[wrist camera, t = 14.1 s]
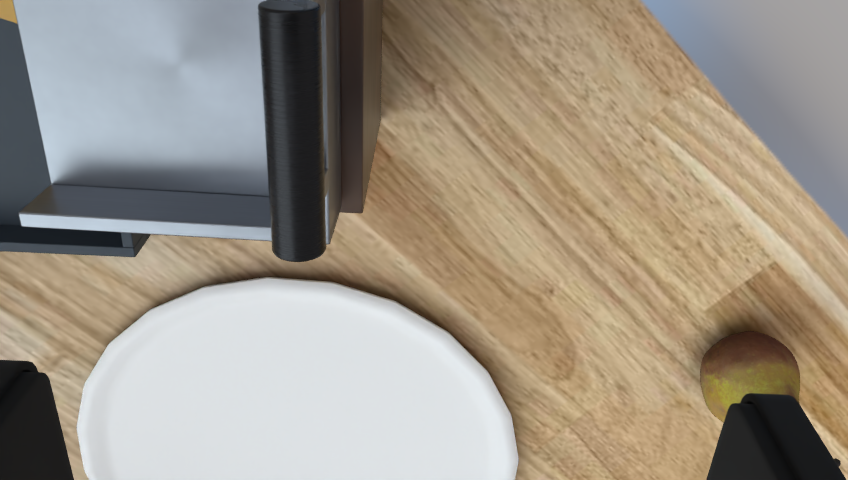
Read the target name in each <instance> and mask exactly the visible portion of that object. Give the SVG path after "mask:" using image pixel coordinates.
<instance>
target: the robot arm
mask: <svg viewBox="0 0 848 480" xmlns="http://www.w3.org/2000/svg"><path fill="white" fill-rule="evenodd" d="M0 480H74V478H73V474H72V470H71V466H70V462H69V458H68V454H67V450H66V445H65V441H64V437H63V433H62V429H61V425H60V421H59V417H58V413H57V409H56V405H55V400H54V396H53V392H52V388H51V384H50V380H49V378H48V376H47V375H46V374H45V373H40V372H38V371H37V368H36V366H35V365H34V364H33V363H32V362H29V361H11V360H0ZM707 480H846V478H845V477H844V475H843V474H842V472H841V470H840V469H839V467H838V466H837V464H836V462H835V461H834V459H833V458H832V456H831V454H830V453H829V451H828V450H827V448H826V446H825V445H824V443H823V442H822V440H821V438H820V437H819V435H818V434H817V432H816V430H815V429H814V427H813V426H812V424H811V422H810V421H809V419H808V418H807V416H806V414H805V413H804V411H803V410H802V408H801V406H800V405H799V403H798V402H797V401H796V399H795V398H794V397H792V396H790V395H782V394H759V393H748V394H746V395H745V396H744V397H743V398H742V400H741V402H740V403H733V404H731V405H730V406H729V408H728V411H727V414H726V417H725V420H724V424H723V427H722V430H721V434H720V437H719V440H718V443H717V447H716V450H715V453H714V457H713V460H712V463H711V466H710V470H709V473H708V476H707Z"/></svg>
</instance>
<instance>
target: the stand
mask: <svg viewBox="0 0 848 480" xmlns="http://www.w3.org/2000/svg"><path fill="white" fill-rule="evenodd" d="M339 7H340V108H341V210H340V212H345V213H363V209H364V203H365V198H366V193H367V188H368V183H369V178H370V172H371V167H372V162H373V157H374V152H375V147H376V141H377V136H378V131H379V126H380V121H381V73H382V13H383V0H339Z"/></svg>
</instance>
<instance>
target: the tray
mask: <svg viewBox="0 0 848 480" xmlns="http://www.w3.org/2000/svg"><path fill="white" fill-rule="evenodd" d="M49 185H51V181H50V176H49V171H48V167H47V162H46V157H45V152H44V148H43V143H42V138H41V133H40V128H39V124H38V119H37V114H36V109H35V105H34V100H33V95H32V90H31V86H30V81H29V76H28V71H27V67H26V62H25V57H24V52H23V48H22V43H21V38H20V33H19V29H18V24H17V23H14V22H11V21H8V20H5V19H2V18H0V251H10V252H32V253H55V254H77V255H99V256H121V257H135V256H136V255H137V254H138V252H139V251H140V249H141V248H142V246H143V245H144V244H145V242H146V241H147V239H148V238H149V237H150V234H140V233H122V232H105V231H88V230H71V229H54V228H37V227H22V226H21V223H20V219H19V212H20V211H21V210H22V209H23V208H24V207H25V206H27V205H28V204H29V203H30V202H31V201H32V200H33V199H35V198H36V197H37V196H38V195H39V194H40V193H41V192H43V191H44V190H45V189H46V188H47V187H48V186H49Z"/></svg>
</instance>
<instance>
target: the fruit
mask: <svg viewBox="0 0 848 480" xmlns="http://www.w3.org/2000/svg"><path fill="white" fill-rule="evenodd" d="M700 382H701V388H702V393H703V396H704V399H705V402H706V405H707V407H708V408H709V410H710V411H711V413H712V414H713V415H714V416H715V417H717V418H718V419H719V420H721V421H722V422H723V423H724V420H725V417H726V414H727V411H728V408H729V406H730V405H731V404H733V403H740V402H741V400H742V398H743V397H744V396H745V395H746V394H748V393H759V394H782V395H790V396H792V397H794V398H795V399H796V401H797V402H798V403H799V391H800V372H799V368H798V365H797V362H796V360H795V357H794V356H793V354H792V353H791V351H790V350H789V349H788V348H787V347H786V346H784V345H783V344H782V343H780V342H779V341H777V340H776V339H774V338H772V337H770V336H768V335H765V334H762V333H759V332H754V331H746V332H741V333H737V334H733V335H731V336H728V337H726V338H724V339H722V340H721V341H719V342H718V343H716V344H715V345H714V346H712V347H711V348H710V349H709V350H708V351H707V352H706V354H705V355H704V357H703V360H702V363H701V370H700ZM799 405H800V404H799ZM834 461H835V462H836V464H837V466H838V467H839V466H840V460H838V459H836V458H835V459H834Z"/></svg>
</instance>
